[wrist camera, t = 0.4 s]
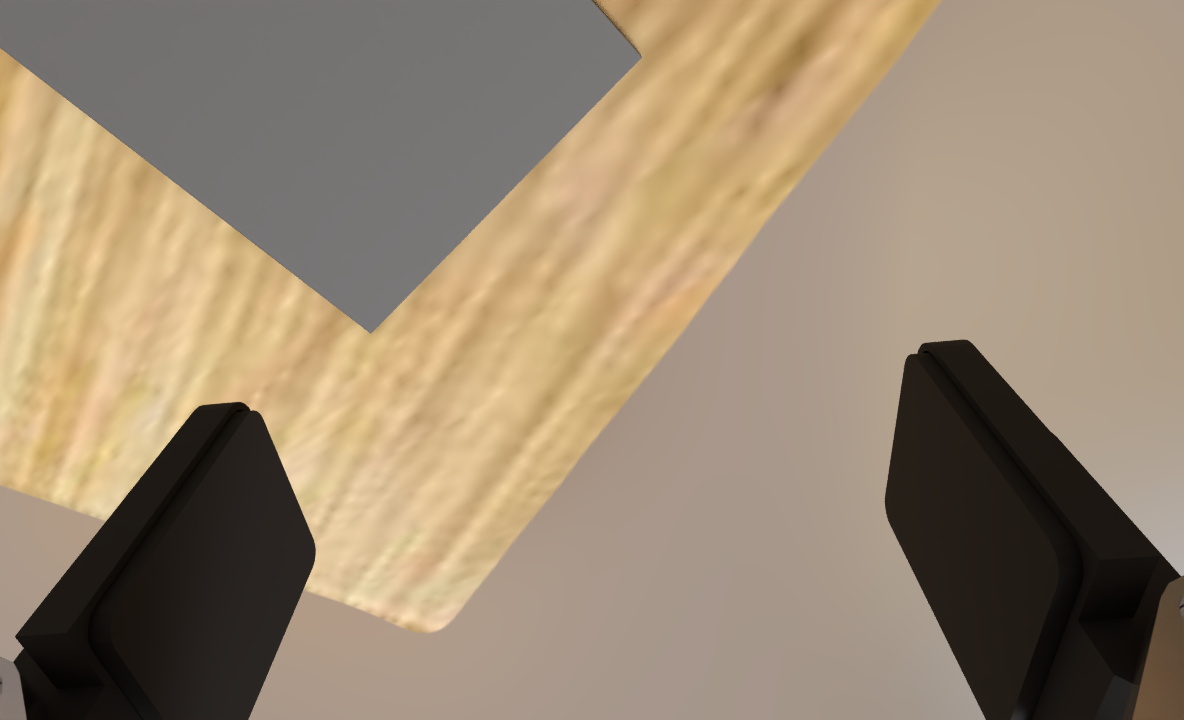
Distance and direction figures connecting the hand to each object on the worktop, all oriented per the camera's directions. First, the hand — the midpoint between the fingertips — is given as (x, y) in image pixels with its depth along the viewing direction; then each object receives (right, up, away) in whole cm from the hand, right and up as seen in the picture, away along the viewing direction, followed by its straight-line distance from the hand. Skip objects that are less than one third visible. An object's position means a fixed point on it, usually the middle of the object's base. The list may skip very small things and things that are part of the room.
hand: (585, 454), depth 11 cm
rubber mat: (-14, +18, +25) cm, 34 cm away
